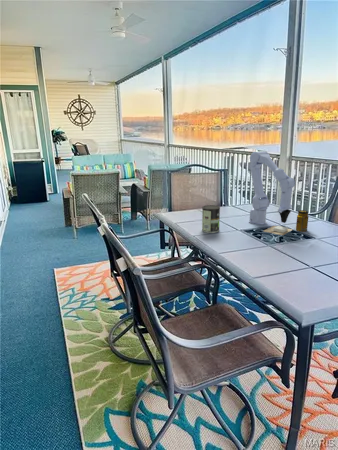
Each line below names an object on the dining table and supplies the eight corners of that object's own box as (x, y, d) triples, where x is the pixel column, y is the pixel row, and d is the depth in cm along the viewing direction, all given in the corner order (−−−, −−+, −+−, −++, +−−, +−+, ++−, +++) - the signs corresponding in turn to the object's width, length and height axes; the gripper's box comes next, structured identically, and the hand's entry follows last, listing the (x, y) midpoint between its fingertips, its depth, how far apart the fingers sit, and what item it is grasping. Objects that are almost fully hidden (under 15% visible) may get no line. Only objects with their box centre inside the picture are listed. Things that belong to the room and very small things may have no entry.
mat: (262, 232, 184) (262, 231, 184) (273, 226, 194) (273, 225, 194) (282, 236, 176) (282, 235, 176) (292, 230, 186) (293, 229, 186)
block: (277, 228, 188) (273, 231, 184) (277, 225, 187) (273, 228, 183) (287, 230, 184) (283, 233, 180) (288, 227, 184) (283, 230, 179)
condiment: (292, 229, 187) (294, 210, 184) (305, 228, 189) (307, 209, 186) (299, 233, 181) (301, 213, 177) (313, 232, 182) (315, 212, 179)
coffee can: (219, 228, 193) (220, 205, 189) (218, 233, 183) (219, 209, 179) (202, 227, 195) (203, 204, 191) (200, 232, 185) (201, 208, 181)
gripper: (287, 202, 175) (285, 226, 179) (297, 198, 185) (295, 220, 189) (275, 200, 179) (273, 224, 183) (286, 196, 189) (283, 218, 193)
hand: (283, 222), depth 186 cm, fingers closed
